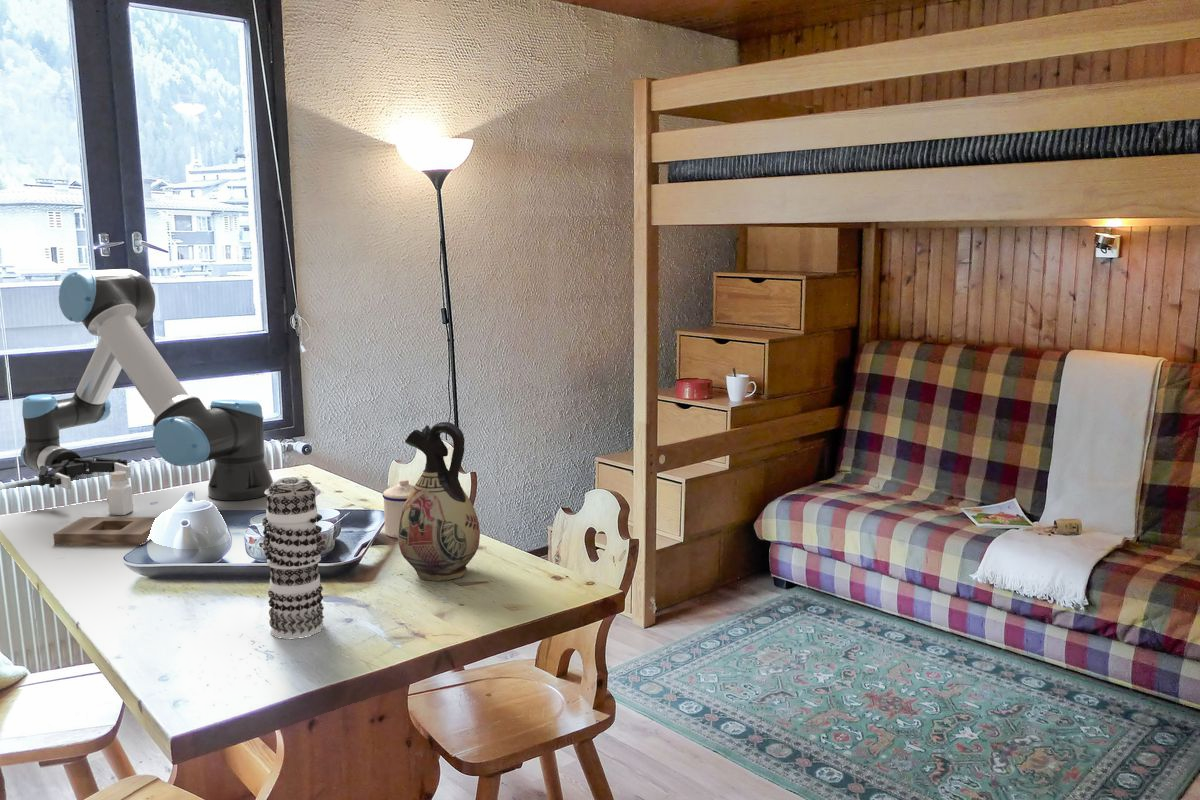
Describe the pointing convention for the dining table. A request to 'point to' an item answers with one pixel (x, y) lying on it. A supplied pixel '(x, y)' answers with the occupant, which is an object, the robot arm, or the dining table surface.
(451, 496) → the ceramic jug
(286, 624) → the decorative candle
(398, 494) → the teacup with lid
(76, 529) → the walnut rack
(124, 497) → the salt shaker
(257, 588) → the dining table surface
